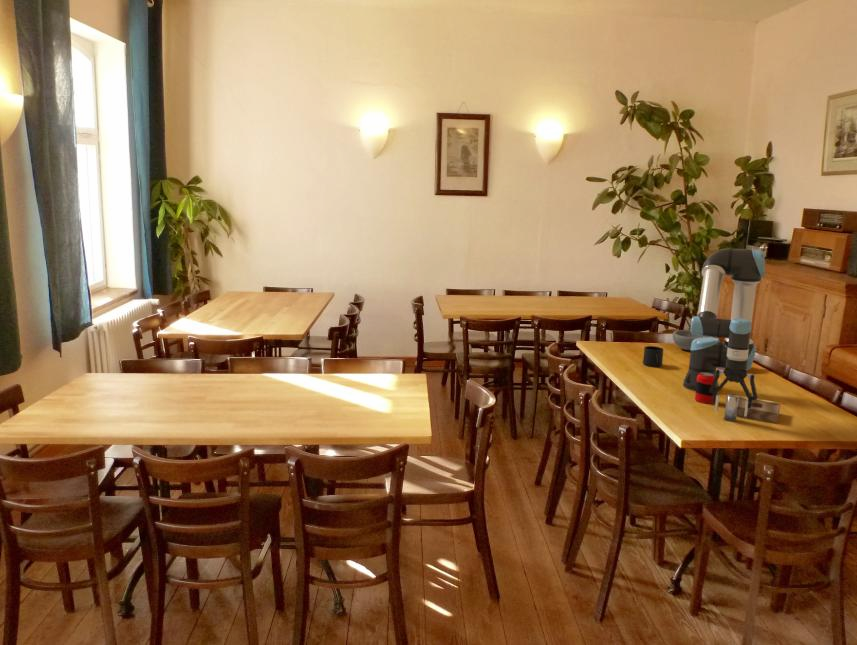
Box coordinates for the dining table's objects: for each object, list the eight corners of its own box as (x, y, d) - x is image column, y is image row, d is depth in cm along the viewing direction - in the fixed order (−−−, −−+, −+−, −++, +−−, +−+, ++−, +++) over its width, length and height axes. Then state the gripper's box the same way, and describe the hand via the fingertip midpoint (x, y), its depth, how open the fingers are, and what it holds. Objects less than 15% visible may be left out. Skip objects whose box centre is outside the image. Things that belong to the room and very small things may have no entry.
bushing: (723, 420, 261) (725, 395, 259) (724, 417, 264) (727, 393, 263) (735, 422, 259) (738, 397, 257) (736, 419, 262) (739, 395, 260)
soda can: (692, 398, 289) (694, 371, 286) (709, 398, 289) (712, 372, 286) (698, 403, 281) (701, 376, 279) (716, 403, 281) (719, 376, 279)
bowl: (667, 344, 393) (669, 328, 391) (707, 346, 390) (708, 329, 388) (676, 353, 371) (677, 336, 369) (718, 355, 368) (720, 338, 366)
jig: (726, 414, 268) (728, 403, 267) (731, 405, 279) (732, 394, 278) (776, 423, 258) (777, 411, 257) (779, 413, 270) (780, 402, 269)
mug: (647, 368, 337) (648, 351, 335) (640, 362, 349) (642, 345, 347) (665, 368, 337) (667, 351, 335) (658, 363, 348) (660, 346, 347)
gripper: (704, 356, 259) (698, 410, 264) (768, 365, 248) (761, 421, 252) (707, 352, 266) (702, 405, 270) (770, 361, 254) (763, 415, 258)
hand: (730, 413), depth 261 cm, fingers open, 10 cm apart
